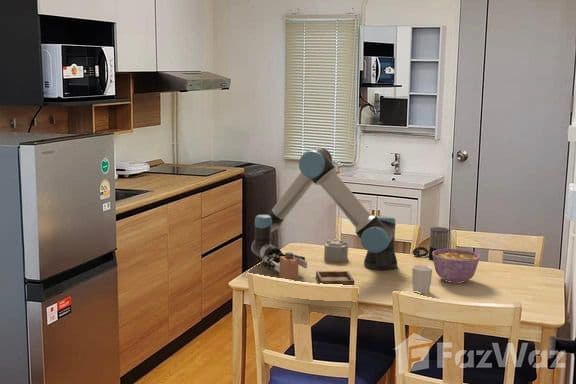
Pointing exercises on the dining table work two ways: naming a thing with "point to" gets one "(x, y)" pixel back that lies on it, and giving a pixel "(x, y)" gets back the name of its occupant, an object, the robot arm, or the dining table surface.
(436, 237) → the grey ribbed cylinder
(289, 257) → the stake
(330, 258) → the lumpy-topped squat cylinder
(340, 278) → the tray
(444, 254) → the bowl of food
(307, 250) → the dining table surface
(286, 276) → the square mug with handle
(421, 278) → the white cup
